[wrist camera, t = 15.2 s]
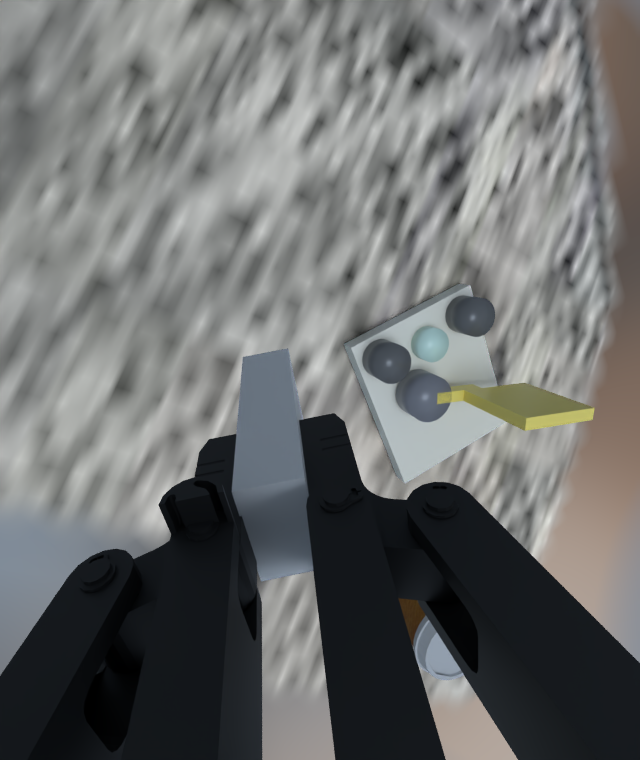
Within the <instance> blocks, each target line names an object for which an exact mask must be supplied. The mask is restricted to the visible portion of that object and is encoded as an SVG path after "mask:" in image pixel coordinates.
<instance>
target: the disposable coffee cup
mask: <svg viewBox="0 0 640 760" xmlns="http://www.w3.org/2000/svg"><path fill="white" fill-rule="evenodd" d="M398 599H399V602H400V605H401V609H402V612H403V616H404V619H405V622H406V626H407V629H408V633H409V636H410V640H411V643H412V645H413V648H414V653H415V657H416V660H417V663H418V664H419V666H420V667H421V668H422V669H423V670H424V671H426V672H428V673H430V674H431V675H432V676H434V677H435V678H438V679H441V680H451V679H455V678H458V677H461V676H463V675H464V674H463V673H462V671H461V669H460V668H459V666H458V665H457V663H456V662H455V660H454V658H453V657H452V655H451V654H450V652H449V651H448V649H447V647H446V646H445V644H444V643H443V641H442V640H441V638H440V637H439V635H438V633H437V632H436V630H435V629H434V627H433V626H432V624H431V622H430V621H429V619H428V618H427V616H426V615H425V613H424V612H423V610H422V608H421V607H420V605H419V603H418V601H417V600H410V599H401V598H398Z"/></svg>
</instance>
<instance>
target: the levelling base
mask: <svg viewBox="0 0 640 760" xmlns="http://www.w3.org/2000/svg"><path fill="white" fill-rule="evenodd" d="M494 319H495V310H494V307H493V305H492V303H491V302H490V301H489V300H487V299H484V298H478V297H473V294H472V290H471V286H470V285H466V284H457V285H455V286H453V287H452V288H450V289H448V290H446V291H444V292H442V293H440V294H438V295H436V296H434V297H432V298H431V299H429V300H427V301H425V302H423V303H421V304H419V305H417V306H415V307H413V308H411V309H410V310H408V311H406V312H404V313H402V314H400V315H398V316H396V317H394V318H392V319H391V320H389V321H387V322H385V323H383V324H381V325H379V326H377V327H375V328H373V329H371V330H370V331H368V332H366V333H364V334H362V335H360V336H358V337H356V338H354V339H352V340H351V341H349V342H347V343H345V344H344V347H345V349H346V352H347V354H348V356H349V359H350V361H351V364H352V366H353V369H354V371H355V374H356V376H357V379H358V381H359V384H360V386H361V389H362V391H363V394H364V396H365V399H366V401H367V404H368V406H369V409H370V411H371V414H372V416H373V419H374V421H375V424H376V426H377V428H378V431H379V433H380V436H381V438H382V441H383V443H384V446H385V448H386V451H387V453H388V456H389V458H390V461H391V463H392V466H393V468H394V471H395V473H396V476H397V477H398V478H399V479H400V480H402V481H403V482H404V483H407V482H408V481H410V480H412V479H413V478H415V477H417V476H418V475H420V474H422V473H423V472H425V471H427V470H428V469H430V468H431V467H433V466H435V465H436V464H438V463H440V462H441V461H443V460H445V459H446V458H448V457H450V456H451V455H453V454H455V453H456V452H458V451H459V450H461V449H463V448H464V447H466V446H468V445H469V444H471V443H473V442H474V441H476V440H478V439H479V438H481V437H482V436H484V435H486V434H487V433H489V432H491V431H492V430H494V429H496V428H497V427H499V426H501V425H502V424H504V423H505V422H506V421H504V420H502V419H500V418H498V417H496V416H494V415H491V414H489V413H487V412H485V411H483V410H481V409H479V408H477V407H475V406H473V405H471V404H469V403H467V402H465V401H458V402H451V403H450V406H449V408H448V410H447V411H446V412H445V414H444V415H443V416H442V417H440V418H439V419H437V420H435V421H433V422H422V421H419V420H418V419H416V418H415V417H413V416H411V415H410V414H408V413H407V412H405V411H403V410H402V409H401V408H400V407H399V405H398V403H397V400H396V389H397V386H398V384H399V382H400V381H402V380H403V379H404V378H405V377H406V376H407V374H408V373H409V372H410V371H413V370H417V369H422V370H425V371H428V372H430V373H432V374H434V375H437V376H439V377H441V378H443V379H445V380H446V381H447V382H448V383H449V385H450V387H451V386H460V385H469V384H473V385H476V386H478V387H481V388H486V387H494V386H497V382H496V378H495V375H494V371H493V367H492V364H491V360H490V356H489V352H488V349H487V345H486V341H485V338H484V334H486V333H487V332H488V331H489V330H490V328H491V327H492V325H493V323H494Z"/></svg>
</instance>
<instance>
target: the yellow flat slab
mask: <svg viewBox="0 0 640 760" xmlns="http://www.w3.org/2000/svg"><path fill="white" fill-rule="evenodd" d="M396 400H397V403H398V405H399V407H400V408H401V409H402V410H403V411H405V412H407V413H408V414H410V415H411V416H413V417H415V418H416V419H418V420H419V421H422V422H433V421H435V420H437V419H439V418H440V417H442V416H443V415H444V414H445V412H446V411H447V410H448V408H449V406H450V403H451V402H458V401H465V402H467V403H469V404H471V405H473V406H475V407H477V408H479V409H481V410H483V411H485V412H487V413H489V414H491V415H494V416H496V417H498V418H500V419H502V420H504V421H506V422H508V423H510V424H512V425H514V426H516V427H518V428H520V429H522V430H525V431H526V430H532V429H539V428H545V427H551V426H557V425H564V424H570V423H576V422H582V421H588V420H593V414H594V408H593V407H591V406H588V405H585V404H582V403H580V402H577V401H574V400H571V399H568V398H566V397H563V396H560V395H557V394H554V393H552V392H549V391H546V390H543V389H540V388H538V387H535V386H532V385H529V384H526V383H519V384H511V385H503V386H494V387H486V388H481V387H478V386H476V385H473V384H469V385H460V386H451V387H450V385H449V383H448V382H447V381H446V380H445V379H443V378H441V377H439V376H437V375H434V374H432V373H430V372H428V371H425V370H422V369H417V370H413V371H410V372H409V373H408V374H407V376H406V377H405V378H404V379H403V380H402V381H400V382H399V384H398V386H397V389H396Z"/></svg>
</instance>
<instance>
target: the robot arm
mask: <svg viewBox="0 0 640 760" xmlns="http://www.w3.org/2000/svg"><path fill="white" fill-rule="evenodd" d="M159 507H160V509H161V512H162V514H163V516H164V519H165V521H166V523H167V525H168V528H169V530H170V532H171V538H170V541H168V542H167V543H166V544H164V545H162V546H161V547H159V548H157V549H155V550H153V551H151V552H148V553H146V554H144V555H142V556H140V557H137V558H135V559H133V558H132V556H131V555H130V554H129V553H128V552H127V551H125V550H120V549H112V550H106V551H102V552H100V553H98V554H95V555H93V556H91V557H89V558H88V559H87V560H85V561H84V562H82V563H81V564H80V565H78V566H77V568H76V569H75V570H74V571H73V572H72V573H71V574H70V575H69V577H68V578H67V579H66V581H65V582H64V584H63V585H62V587H61V588H60V590H59V591H58V593H57V594H56V595H55V597H54V598H53V600H52V601H51V603H50V604H49V606H48V607H47V609H46V610H45V612H44V613H43V614H42V616H41V617H40V619H39V621H38V622H37V623H36V625H35V626H34V628H33V629H32V631H31V632H30V633H29V635H28V636H27V638H26V639H25V641H24V642H23V644H22V645H21V646H20V648H19V649H18V651H17V652H16V654H15V655H14V657H13V658H12V660H11V661H10V662H9V664H8V665H7V667H6V668H5V670H4V671H3V673H2V674H1V676H0V760H262V602H261V598H260V594H259V591H258V588H257V570H258V573H259V576H260V579H261V581H266V580H271V579H276V578H280V577H285V576H290V575H295V574H300V573H305V572H310V571H314V579H315V587H316V596H317V604H318V613H319V622H320V630H321V639H322V648H323V656H324V665H325V673H326V682H327V691H328V699H329V708H330V716H331V725H332V733H333V742H334V751H335V760H446V759H445V756H444V753H443V749H442V746H441V742H440V739H439V735H438V732H437V728H436V725H435V722H434V718H433V715H432V711H431V708H430V704H429V701H428V698H427V694H426V691H425V687H424V684H423V681H422V677H421V674H420V670H419V667H418V663H417V660H416V657H415V653H414V650H413V646H412V643H411V640H410V636H409V633H408V629H407V626H406V622H405V619H404V616H403V612H402V609H401V605H400V602H399V599H398V598H401V599H410V600H417V601H418V603H419V605H420V607H421V608H422V610H423V612H424V613H425V615H426V616H427V618H428V619H429V621H430V622H431V624H432V626H433V627H434V629H435V630H436V632H437V633H438V635H439V637H440V638H441V640H442V641H443V643H444V644H445V646H446V647H447V649H448V651H449V652H450V654H451V655H452V657H453V658H454V660H455V662H456V663H457V665H458V666H459V668H460V669H461V671H462V673H463V674H464V676H465V677H466V679H467V680H468V682H469V683H470V685H471V687H472V688H473V690H474V691H475V693H476V694H477V696H478V697H479V699H480V700H481V702H482V703H483V705H484V707H485V708H486V710H487V711H488V713H489V714H490V716H491V718H492V719H493V721H494V723H495V724H496V725H497V727H498V729H499V730H500V732H501V733H502V735H503V737H504V738H505V740H506V741H507V743H508V744H509V746H510V748H511V749H512V751H513V752H514V754H515V755H516V757H517V759H518V760H640V663H639V662H638V661H637V660H636V659H635V658H634V657H633V656H632V655H631V654H630V653H629V652H628V651H627V650H626V649H625V648H624V647H623V646H622V645H621V644H620V643H619V642H618V641H617V640H616V639H615V638H614V637H613V636H612V635H611V634H610V633H609V632H608V631H607V630H605V628H604V627H603V626H602V625H601V624H600V623H599V622H598V621H597V620H596V619H595V618H594V617H593V616H592V615H591V614H590V613H589V612H588V611H587V610H586V609H585V608H584V607H583V606H582V605H581V604H580V603H579V602H578V601H577V600H576V599H575V598H574V597H573V596H572V595H571V594H570V593H569V592H568V591H567V590H566V589H565V588H564V587H562V585H561V584H560V583H559V582H558V581H557V580H556V579H555V578H554V577H553V576H552V575H551V574H550V573H549V572H548V571H547V570H546V569H545V568H544V567H543V566H542V565H541V564H540V563H539V562H538V561H537V560H536V559H535V558H534V557H533V556H532V555H531V554H530V553H529V552H528V551H527V550H526V549H525V548H524V547H523V546H522V545H521V544H520V543H519V542H518V541H517V540H516V539H515V538H514V537H513V536H512V535H511V534H510V533H509V532H508V531H507V530H506V529H505V528H504V527H503V526H502V525H501V524H500V523H499V522H498V521H497V520H496V519H495V518H494V517H493V516H492V515H491V514H490V513H489V512H488V511H487V510H486V509H485V508H484V507H483V506H482V505H481V504H480V503H479V502H478V501H477V500H476V499H475V498H474V497H473V496H472V495H471V494H470V493H468V492H467V491H465V490H464V489H463V488H461V487H460V486H457V485H454V484H450V483H446V482H433V483H428V484H424V485H422V486H420V487H418V488H417V489H415V490H413V491H412V493H411V494H410V496H409V497H408V498H407V500H398V499H388V498H383V497H380V496H377V495H375V494H373V493H372V492H370V491H369V490H368V489H367V488H366V487H365V486H364V485H363V483H362V481H361V477H360V474H359V471H358V467H357V464H356V460H355V457H354V453H353V450H352V446H351V443H350V439H349V436H348V433H347V429H346V426H345V422H344V421H343V420H342V419H340V418H339V417H338V416H337V415H336V414H334V413H333V414H328V415H323V416H318V417H313V418H308V419H303V416H302V411H301V406H300V402H299V397H298V392H297V388H296V383H295V378H294V374H293V369H292V364H291V360H290V355H289V350H288V349H282V350H277V351H272V352H267V353H262V354H257V355H252V356H247V357H243V363H242V375H241V387H240V399H239V410H238V422H237V434H234V435H229V436H224V437H219V438H214V439H209V440H208V442H207V443H206V444H205V445H204V447H203V448H202V449H201V451H200V452H199V457H198V462H197V467H196V472H195V477H194V478H191V479H188V480H185V481H182V482H181V483H179V484H177V485H175V486H174V487H172V488H171V489H170V490H169V491H168V492H167V493H166V494H165V495H164V496H163V497H162V499H161V501H160V503H159Z"/></svg>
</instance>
